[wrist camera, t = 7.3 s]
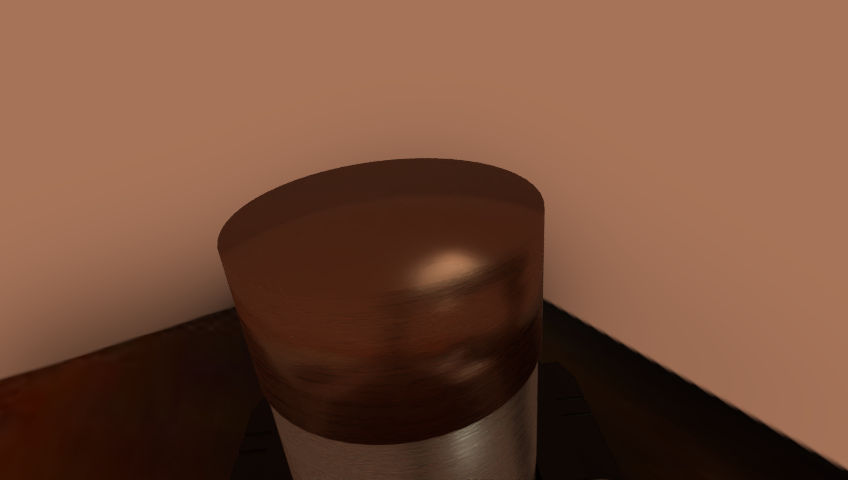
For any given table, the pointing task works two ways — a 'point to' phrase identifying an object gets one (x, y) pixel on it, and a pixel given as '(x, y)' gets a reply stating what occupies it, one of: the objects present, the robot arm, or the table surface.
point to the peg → (395, 318)
